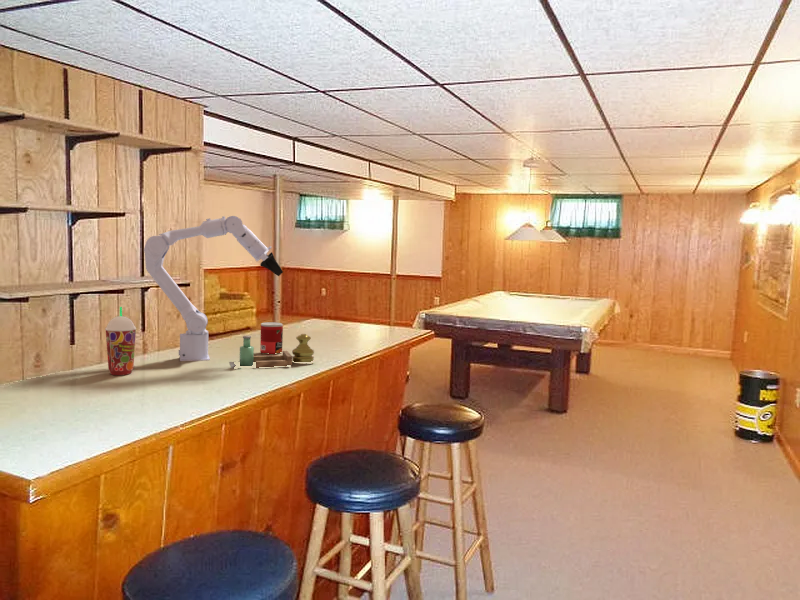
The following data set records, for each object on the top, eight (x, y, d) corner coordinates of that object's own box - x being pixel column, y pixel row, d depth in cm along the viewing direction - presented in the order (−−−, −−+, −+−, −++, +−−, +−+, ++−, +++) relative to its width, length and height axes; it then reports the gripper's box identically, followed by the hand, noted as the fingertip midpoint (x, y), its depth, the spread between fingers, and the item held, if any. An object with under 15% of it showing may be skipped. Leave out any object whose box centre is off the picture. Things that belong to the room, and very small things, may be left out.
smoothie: (124, 377, 175) (124, 309, 173) (99, 375, 177) (98, 307, 175) (142, 371, 183) (142, 306, 181) (117, 369, 185) (117, 304, 183)
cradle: (232, 370, 190) (232, 358, 190) (229, 362, 201) (229, 351, 201) (292, 368, 197) (292, 356, 196) (286, 361, 208) (286, 350, 208)
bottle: (240, 366, 195) (240, 337, 194) (238, 363, 199) (239, 335, 198) (254, 366, 196) (254, 337, 195) (252, 363, 200) (253, 335, 199)
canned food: (279, 355, 217) (280, 325, 216) (257, 354, 217) (258, 324, 216) (284, 352, 225) (285, 322, 224) (263, 351, 225) (263, 321, 224)
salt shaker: (316, 361, 209) (316, 333, 208) (310, 365, 202) (311, 336, 201) (295, 360, 210) (296, 332, 209) (289, 364, 203) (290, 335, 202)
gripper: (261, 237, 200) (290, 267, 203) (261, 235, 214) (287, 263, 217) (245, 251, 199) (274, 281, 202) (246, 249, 213) (273, 277, 216)
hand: (280, 273), depth 210 cm, fingers open, 7 cm apart
